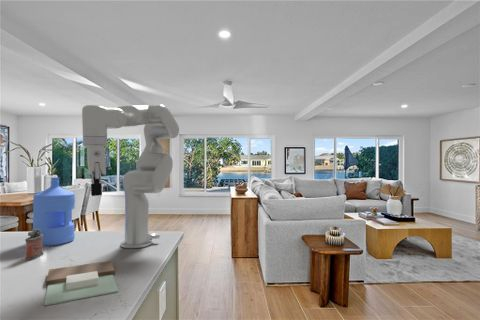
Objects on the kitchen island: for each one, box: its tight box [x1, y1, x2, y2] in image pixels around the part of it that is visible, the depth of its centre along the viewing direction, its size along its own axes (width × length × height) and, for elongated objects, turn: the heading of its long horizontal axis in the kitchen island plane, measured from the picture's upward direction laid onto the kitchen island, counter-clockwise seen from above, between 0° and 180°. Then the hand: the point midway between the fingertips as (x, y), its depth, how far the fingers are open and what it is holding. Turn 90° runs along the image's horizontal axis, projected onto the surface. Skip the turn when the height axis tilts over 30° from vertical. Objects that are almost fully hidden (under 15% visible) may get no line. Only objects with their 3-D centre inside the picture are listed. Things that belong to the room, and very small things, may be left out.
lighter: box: [25, 229, 44, 262], centre depth 109 cm, size 8×3×10 cm, turn 5°
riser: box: [45, 260, 116, 287], centre depth 92 cm, size 18×10×2 cm, turn 119°
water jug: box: [32, 177, 76, 247], centre depth 130 cm, size 16×16×28 cm
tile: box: [66, 271, 99, 290], centre depth 85 cm, size 8×6×2 cm
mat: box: [43, 274, 119, 307], centre depth 82 cm, size 17×13×1 cm
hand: (96, 195), depth 102 cm, fingers closed
